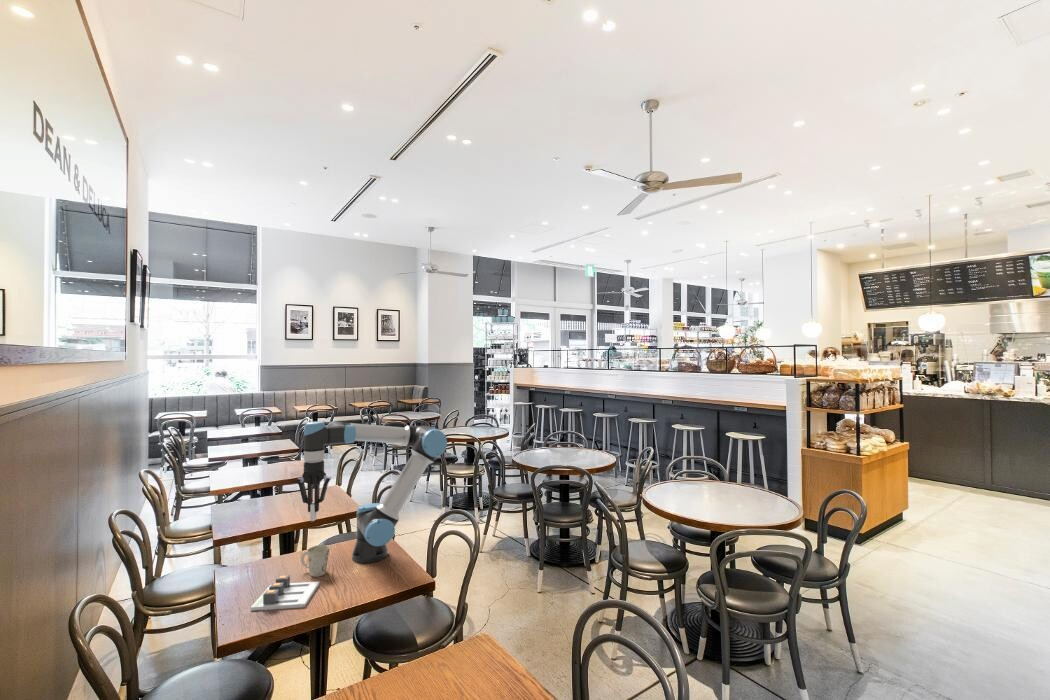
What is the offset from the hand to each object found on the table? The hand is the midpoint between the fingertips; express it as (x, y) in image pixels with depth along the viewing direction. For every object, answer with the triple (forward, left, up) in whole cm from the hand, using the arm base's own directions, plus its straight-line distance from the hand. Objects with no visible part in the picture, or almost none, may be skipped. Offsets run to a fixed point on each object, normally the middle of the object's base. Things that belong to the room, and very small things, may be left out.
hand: (313, 519), depth 186 cm
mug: (+2, -8, -25) cm, 26 cm away
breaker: (+9, +18, -23) cm, 30 cm away
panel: (+6, +12, -24) cm, 28 cm away
